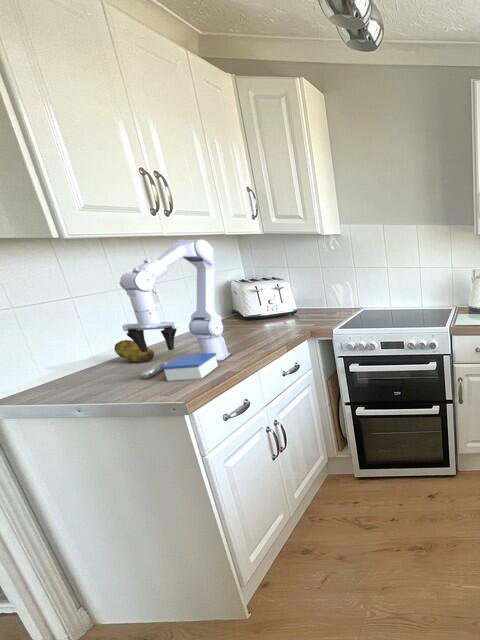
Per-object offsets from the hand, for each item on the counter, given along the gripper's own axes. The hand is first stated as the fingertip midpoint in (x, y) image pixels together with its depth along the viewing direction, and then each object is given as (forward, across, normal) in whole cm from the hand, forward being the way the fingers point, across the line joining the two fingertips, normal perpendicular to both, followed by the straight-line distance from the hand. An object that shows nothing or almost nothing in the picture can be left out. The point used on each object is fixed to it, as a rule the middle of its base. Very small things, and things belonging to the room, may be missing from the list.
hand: (158, 350), depth 139 cm
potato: (+9, -19, +23) cm, 32 cm away
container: (+9, +8, 0) cm, 12 cm away
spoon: (+9, -5, +5) cm, 11 cm away
